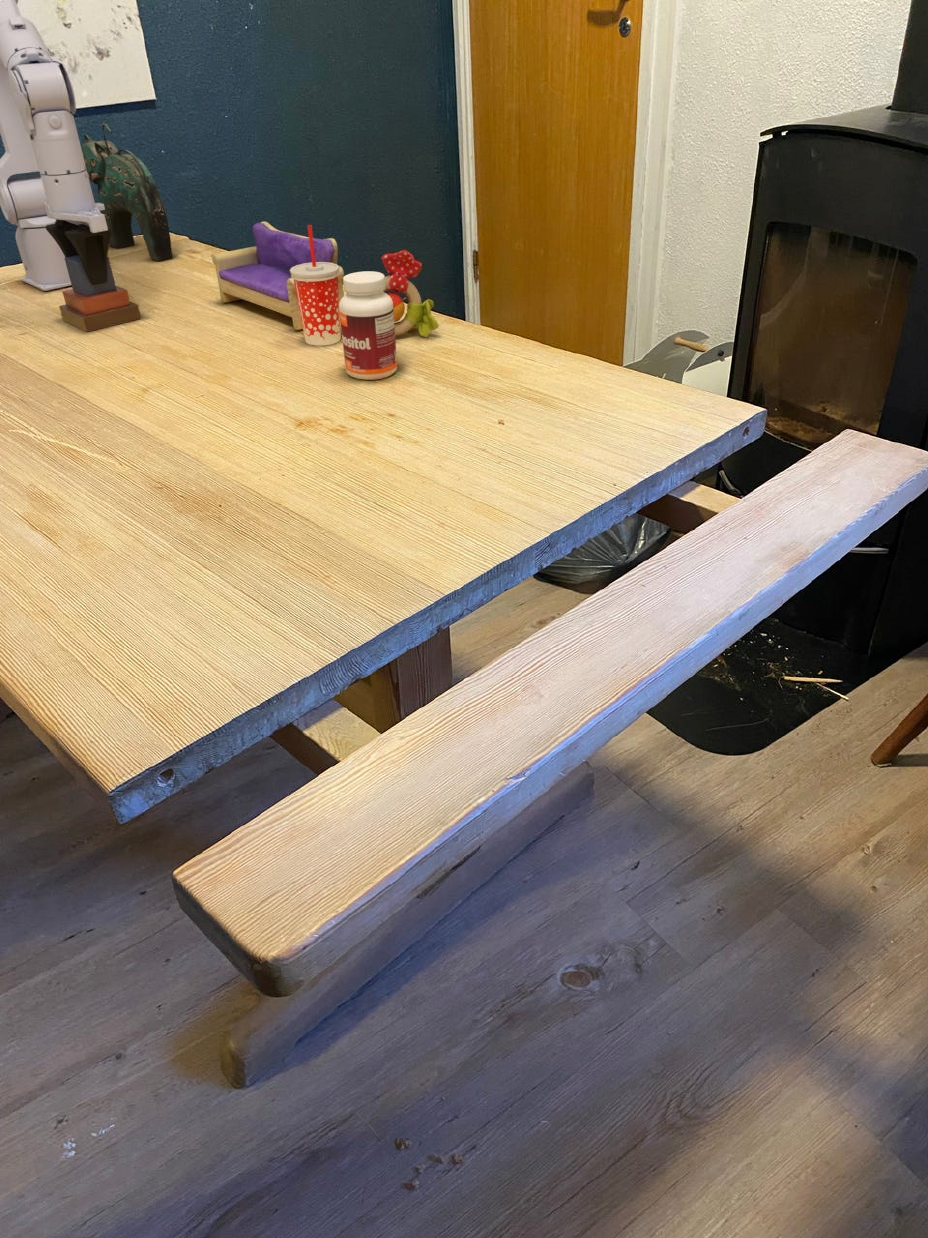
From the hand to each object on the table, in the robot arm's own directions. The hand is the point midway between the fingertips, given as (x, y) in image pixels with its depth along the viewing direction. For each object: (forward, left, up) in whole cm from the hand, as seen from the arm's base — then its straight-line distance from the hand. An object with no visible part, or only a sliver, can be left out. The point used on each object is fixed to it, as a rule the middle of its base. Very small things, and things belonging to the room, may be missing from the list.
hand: (91, 280), depth 125 cm
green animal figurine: (-33, +23, -6) cm, 40 cm away
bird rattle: (+38, +24, -6) cm, 45 cm away
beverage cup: (+31, +16, -6) cm, 35 cm away
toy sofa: (+16, +20, -6) cm, 26 cm away
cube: (0, 0, -1) cm, 1 cm away
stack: (0, 0, -5) cm, 5 cm away
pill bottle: (+45, +13, -6) cm, 47 cm away
